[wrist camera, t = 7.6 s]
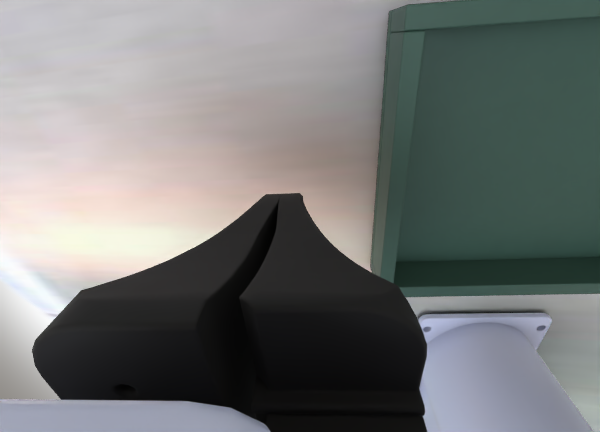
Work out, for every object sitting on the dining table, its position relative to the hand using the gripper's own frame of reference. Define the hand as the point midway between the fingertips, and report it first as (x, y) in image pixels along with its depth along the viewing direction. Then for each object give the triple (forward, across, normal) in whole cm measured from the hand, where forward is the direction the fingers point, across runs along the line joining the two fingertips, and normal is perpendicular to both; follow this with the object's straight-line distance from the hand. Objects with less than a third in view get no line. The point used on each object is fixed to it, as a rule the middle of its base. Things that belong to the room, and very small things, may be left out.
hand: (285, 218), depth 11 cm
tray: (+4, -11, 0) cm, 12 cm away
